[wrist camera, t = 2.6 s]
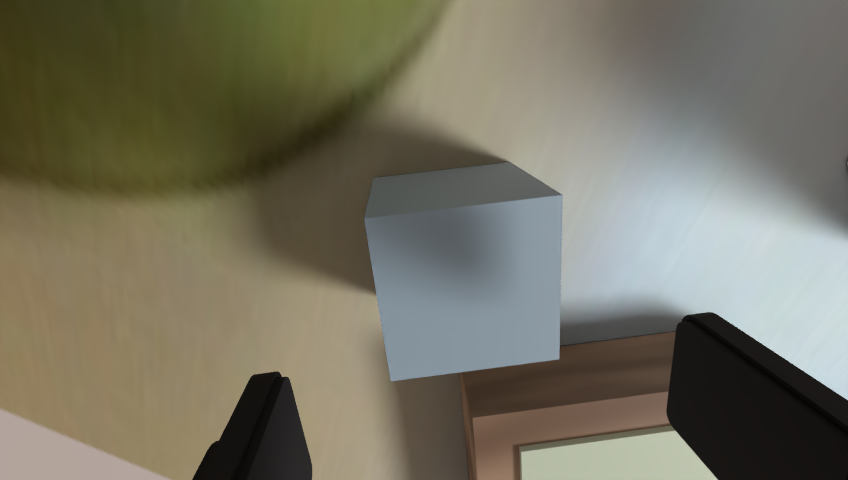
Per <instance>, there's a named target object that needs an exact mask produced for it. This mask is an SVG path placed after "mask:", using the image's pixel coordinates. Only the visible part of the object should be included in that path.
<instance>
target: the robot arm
mask: <svg viewBox="0 0 848 480" xmlns="http://www.w3.org/2000/svg"><path fill="white" fill-rule="evenodd" d="M666 414H667V418H668V421H669V422H670V424H671V426H672V427H673V428H674V430H675V431H676V432H677V433H678V434H679V435H680V437H681V438H682V439H683V440H684V441H685V442H686V443H687V445H688V446H689V447H690V448H691V449H692V450H693V452H694V453H695V454H696V455H697V456H698V457H699V459H700V460H701V461H702V462H703V463H704V464H705V465H706V467H707V468H708V469H709V470H710V471H711V472H712V474H713V475H714V476H715V477H716V478H717V479H718V480H848V400H846V399H845V398H843V397H842V396H840V395H839V394H837V393H836V392H834V391H833V390H831V389H829V388H828V387H826V386H825V385H823V384H822V383H820V382H819V381H817V380H816V379H814V378H813V377H811V376H810V375H808V374H807V373H805V372H804V371H802V370H801V369H799V368H797V367H796V366H794V365H793V364H791V363H790V362H788V361H787V360H785V359H784V358H782V357H781V356H779V355H778V354H776V353H775V352H773V351H772V350H770V349H769V348H767V347H766V346H764V345H762V344H761V343H759V342H758V341H756V340H755V339H753V338H752V337H750V336H749V335H747V334H746V333H744V332H743V331H741V330H740V329H738V328H737V327H735V326H734V325H732V324H730V323H729V322H727V321H726V320H724V319H723V318H721V317H720V316H718V315H717V314H715V313H712V312H707V313H700V314H692V315H687V316H685V317H684V318H683V319H682V322H680V323H679V324H678V325H677V327H676V334H675V342H674V351H673V359H672V367H671V375H670V383H669V392H668V400H667V408H666ZM192 480H312V464H311V459H310V455H309V452H308V448H307V444H306V440H305V436H304V432H303V429H302V425H301V421H300V417H299V413H298V409H297V406H296V402H295V398H294V394H293V390H292V386H291V383H290V380H289V378H288V377H282V376H281V374H280V373H279V372H270V373H263V374H256V375H253V376H251V378H250V380H249V382H248V384H247V386H246V388H245V390H244V392H243V394H242V396H241V398H240V400H239V402H238V404H237V406H236V408H235V410H234V412H233V414H232V416H231V418H230V420H229V422H228V424H227V426H226V428H225V430H224V432H223V434H222V436H221V438H220V440H219V441H216V442H214V443H213V444H212V445H211V446H210V447H209V449H208V450H207V452H206V454H205V456H204V458H203V460H202V462H201V464H200V466H199V468H198V470H197V471H196V473H195V475H194V477H193V479H192Z"/></svg>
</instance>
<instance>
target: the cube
mask: <svg viewBox="0 0 848 480" xmlns="http://www.w3.org/2000/svg"><path fill="white" fill-rule="evenodd" d="M364 222H365V228H366V234H367V240H368V246H369V252H370V258H371V264H372V271H373V277H374V283H375V289H376V295H377V301H378V307H379V313H380V319H381V325H382V332H383V338H384V344H385V350H386V356H387V362H388V368H389V374H390V380H391V381H398V380H406V379H414V378H421V377H429V376H436V375H444V374H452V373H459V372H467V371H474V370H482V369H490V368H497V367H505V366H512V365H520V364H528V363H535V362H543V361H550V360H558V359H559V354H560V300H561V247H562V194H560V193H559V192H557V191H555V190H554V189H552V188H551V187H549V186H547V185H546V184H544V183H543V182H541V181H539V180H538V179H536V178H535V177H533V176H531V175H530V174H528V173H527V172H525V171H523V170H522V169H520V168H519V167H517V166H516V165H514V164H512V163H511V162H505V163H496V164H488V165H479V166H471V167H462V168H454V169H445V170H437V171H428V172H420V173H411V174H403V175H394V176H386V177H377V178H373V182H372V186H371V191H370V195H369V199H368V204H367V208H366V212H365V217H364Z"/></svg>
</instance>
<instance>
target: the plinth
mask: <svg viewBox="0 0 848 480" xmlns="http://www.w3.org/2000/svg"><path fill="white" fill-rule="evenodd" d="M675 334H676V331H675V332H667V333H659V334H652V335H644V336H636V337H629V338H621V339H613V340H606V341H598V342H591V343H583V344H575V345H568V346H560V354H559V359H558V360H550V361H543V362H535V363H528V364H520V365H512V366H505V367H497V368H490V369H482V370H474V371H467V372H460V382H461V394H462V405H463V417H464V428H465V440H466V451H467V463H468V474H469V480H718V479H717V478H716V477H715V476H714V475H713V474H712V472H711V471H710V470H709V469H708V468H707V467H706V465H705V464H704V463H703V462H702V461H701V460H700V459H699V457H698V456H697V455H696V454H695V453H694V452H693V450H692V449H691V448H690V447H689V446H688V445H687V443H686V442H685V441H684V440H683V439H682V438H681V437H680V435H679V434H678V433H677V432H676V431H675V430H674V428H673V427H672V426H671V424H670V422H669V421H668V418H667V414H666V408H667V400H668V392H669V383H670V375H671V367H672V359H673V351H674V342H675Z"/></svg>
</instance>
